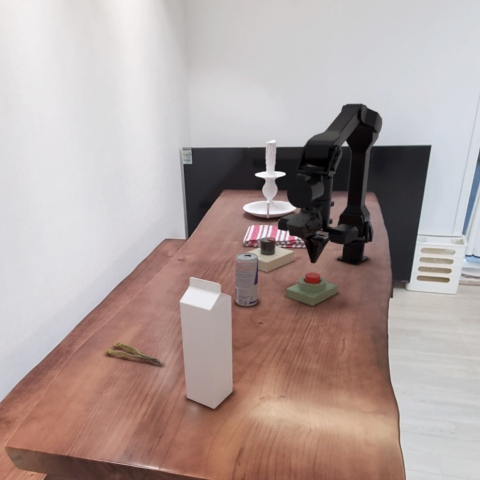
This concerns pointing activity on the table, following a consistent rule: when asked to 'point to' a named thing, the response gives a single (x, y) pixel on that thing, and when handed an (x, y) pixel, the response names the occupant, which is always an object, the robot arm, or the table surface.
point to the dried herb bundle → (132, 350)
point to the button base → (311, 291)
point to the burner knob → (267, 246)
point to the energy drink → (246, 279)
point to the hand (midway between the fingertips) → (313, 262)
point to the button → (312, 278)
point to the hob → (273, 258)
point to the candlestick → (269, 189)
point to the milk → (207, 342)
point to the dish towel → (264, 231)
